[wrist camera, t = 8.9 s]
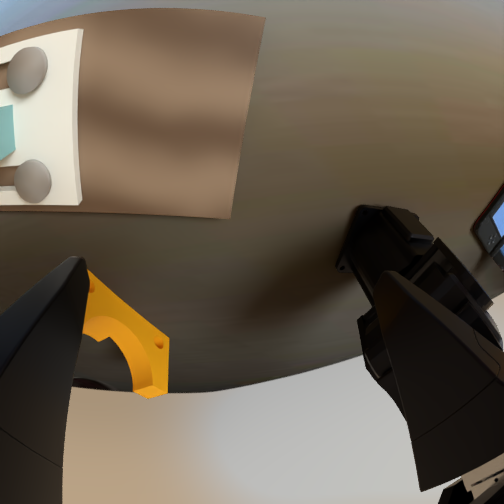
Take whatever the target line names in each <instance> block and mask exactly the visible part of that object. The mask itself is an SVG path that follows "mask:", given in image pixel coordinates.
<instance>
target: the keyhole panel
mask: <svg viewBox="0 0 504 504" xmlns="http://www.w3.org/2000/svg"><path fill="white" fill-rule="evenodd" d="M83 30H84V29H72V30H67V31H61V32H57V33H52V34H47V35H43V36H39V37H35V38H31V39H27V40H24V41H20V42H17V43H14V44H11V45H7V46H4V47H1V48H0V64H4V63H7V62H10V61H11V59H12V58H13V56H14V55H15V54H16V53H17V52H18V51H20V50H21V49H23V48H26V47H39V48H41V49H42V50H43V51H44V52H45V54H46V56H47V60H48V68H47V73H46V76H45V78H44V80H43V81H42V83H41V84H40V85H39V86H38V87H37V88H36V89H35V90H33V91H31V92H28V93H25V94H16V93H14V92H13V91H12V90H11V89H10V88H6V89H2V90H0V167H6V166H18V165H21V164H22V163H24V162H25V161H27V160H29V159H35V160H38V161H40V162H42V163H43V164H44V165H45V166H46V167H47V169H48V170H49V172H50V175H51V180H52V185H51V190H50V192H49V194H48V195H47V196H46V197H45V198H44V199H43V200H42V201H41V202H39V203H29V202H26V201H25V200H23V199H22V198H21V197H20V196H19V194H18V193H17V191H16V188H15V186H0V205H79V204H80V202H81V201H82V192H81V182H80V170H79V155H78V124H77V110H78V80H79V66H80V55H81V45H82V37H83Z"/></svg>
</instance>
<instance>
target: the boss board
mask: <svg viewBox="0 0 504 504" xmlns="http://www.w3.org/2000/svg"><path fill="white" fill-rule="evenodd" d="M265 19H266V18H264V17H259V16H253V15H246V14H240V13H232V12H224V11H214V10H202V9H182V8H147V9H128V10H116V11H106V12H98V13H91V14H84V15H78V16H73V17H68V18H63V19H58V20H54V21H49V22H45V23H41V24H38V25H34V26H30V27H27V28H24V29H20V30H17V31H14V32H11V33H8V34H5V35H3V36H0V48H1V47H4V46H7V45H11V44H14V43H17V42H20V41H24V40H27V39H31V38H35V37H39V36H43V35H47V34H52V33H57V32H61V31H67V30H72V29H84V30H83V37H82V45H81V55H80V66H79V80H78V110H77V124H78V155H79V170H80V182H81V192H82V201H81V202H80V204H79V205H0V211H66V212H103V213H130V214H152V215H172V216H190V217H206V218H222V219H230V216H231V209H232V203H233V196H234V190H235V184H236V178H237V171H238V165H239V159H240V153H241V147H242V141H243V136H244V130H245V124H246V118H247V113H248V107H249V102H250V96H251V91H252V85H253V80H254V75H255V69H256V64H257V59H258V54H259V49H260V44H261V39H262V34H263V29H264V24H265ZM47 68H48V60H47V56H46V54H45V52H44V51H43V50H42V49H41V48H39V47H26V48H23V49H21V50H20V51H18V52H17V53H16V54H15V55H14V56H13V58H12V59H11V61H10V62H7V63H4V64H0V90H2V89H6V88H10V89H11V90H12V91H13V92H14V93H16V94H25V93H28V92H31V91H33V90H35V89H36V88H37V87H38V86H39V85H40V84H41V83H42V81H43V80H44V78H45V76H46V73H47ZM51 185H52V180H51V175H50V172H49V170H48V169H47V167H46V166H45V165H44V164H43V163H42V162H40V161H38V160H35V159H29V160H27V161H25V162H24V163H22V164H21V165H18V166H6V167H0V186H15V188H16V191H17V193H18V194H19V196H20V197H21V198H22V199H23V200H25V201H26V202H29V203H39V202H41V201H42V200H43V199H44V198H45V197H46V196H47V195H48V194H49V192H50V190H51Z"/></svg>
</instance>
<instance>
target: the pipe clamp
mask: <svg viewBox="0 0 504 504" xmlns="http://www.w3.org/2000/svg"><path fill="white" fill-rule="evenodd" d="M87 271H88V275H89V280H90V289H89V294H88V300H87V306H86V313H85V319H84V326H83V333H84V334H87V335H89V336H91V337H92V338H94V339H95V340H97V341H98V342H99V341H101V340H103V339H105V338H107V337H111V338H112V339H113V340H114V341H115V343H116V344H117V345H118V346H119V348H120V349H121V351H122V352H123V354H124V356H125V358H126V360H127V362H128V364H129V367H130V370H131V374H132V380H133V392H135V393H138V394H139V395H141V396H143V397H145V398H147V399H149V398H152V397H156V396H160V395H163V394H167V393H168V359H169V337H167V336H166V335H165V334H163V333H162V332H161V331H159V330H158V329H157V328H156V327H154V326H153V325H152V324H150V323H149V322H148V321H147V320H145V319H144V318H143V317H142V316H140V315H139V314H138V313H137V312H136V311H134V310H133V309H132V308H131V307H130V306H128V305H127V304H126V303H125V302H124V301H122V300H121V299H120V298H119V297H118V296H117V295H116V294H114V293H113V292H112V291H111V290H110V289H109V288H108V287H106V286H105V285H104V284H103V283H102V282H101V281H100V280H99V279H98V278H96V277H95V276H94V275H93V274H92V273H91V272H90V271H89V270H88V269H87Z"/></svg>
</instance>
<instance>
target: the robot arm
mask: <svg viewBox="0 0 504 504" xmlns="http://www.w3.org/2000/svg"><path fill="white" fill-rule="evenodd" d="M364 210H366V211H365V212H364V213H362V212H363V211H364ZM433 241H434V237H433V235H432V234H431V233H430V232H429V231H428V230H427V229H426V228H425V227H424V226H423V225H422V224H421V223H420V222H419V217H418V216H417V215H416V214H415V213H410V212H409V211H408V210H406V209H401V208H395V207H389V206H385V207H383V208H382V207H376V206H369V205H362V206H360V207H359V208H358V210H357V213H356V215H355V218H354V221H353V223H352V226H351V228H350V231H349V234H348V236H347V239H346V241H345V244H344V246H343V249H342V251H341V253H340V256H339V258H338V261H337V263H336V266H335V267H336V269H337V271H338V272H342V273H354V275H355V277H356V278H357V280H358V282H359V284H360V286H361V287H362V289H363V291H364V293H365V295H366V296H367V298H368V300H369V302H370V304H371V306H372V308H371V309H370V310H369V311H368V312H367V313H366V314H365V315H362V316H361V317H360V318H359V319H357V323H358V329H359V334H360V339H361V345H362V351H363V357H364V361H365V366H366V369H367V370H368V371H369V373H370V374H371V376H372V377H373V378H374V380H376V382H377V383H378V384H379V385H380V386H381V387H382V388H383V389H384V390H385V391H386V392H387V393H388V394H389V395H390V397H391V398H392V399H393V400H394V402H395V403H396V405H397V406H398V408H399V410H400V411H401V413H402V415H403V417H404V418H405V420H406V421H407V425H408V429H409V433H410V438H411V441H412V442H411V443H412V449H413V454H414V459H415V464H416V470H417V475H418V481H419V488H420V491H421V492H423V491H426V490H428V489H431V488H433V487H436V486H439V485H441V484H443V483H446V482H448V481H451V480H453V479H455V478H457V477H459V476H461V478H460V479H459V480H457V481H456V482H454V483H453V484H451V485H449V486H448V487H447V488H445V489H443V492H442V494H441V497H440V500H439V502H438V504H504V352H503V342H502V338H501V335H500V333H499V330H498V328H497V325H496V324H495V322H494V320H493V319H492V317H491V316H490V315H489V313H488V312H487V310H488V309H489V308H490V307H491V306H492V305H493V302H492V300H491V299H490V298H489V296H488V295H487V294H486V292H485V291H484V290H483V288H482V287H481V286H480V284H479V283H478V282H477V280H476V279H475V278H474V277H473V276H472V274H471V273H470V272H469V271H468V269H467V268H466V267H465V266H464V265H463V264H462V262H461V261H460V260H459V259H458V258H457V257H456V256H455V255H454V253H453V252H452V251H451V250H450V249H449V248H448V247H447V246H446V245H445V244H444V243H443V242H442V241H441V239H440V238H439V237H437V239H436V240H435V241H434V242H433ZM433 243H434V244H433ZM341 266H342V267H341ZM89 289H90V280H89V275H88V271H87V266H86V262H85V259H84V258H83V257H75V256H71V257H69V258H68V259H66V260H65V261H64V262H62V263H61V264H60V265H59V266H57V267H56V268H55V269H54V270H52V271H51V272H50V273H49V274H47V275H46V276H45V277H44V278H42V279H41V280H40V281H39V282H38V283H36V284H35V285H34V286H33V287H32V288H31V289H29V290H28V291H27V292H26V293H25V294H24V295H22V296H21V297H20V298H19V299H18V300H17V301H16V302H15V303H13V304H12V305H11V306H10V307H9V308H8V309H7V310H6V311H5V312H4V313H2V314H1V315H0V504H62V477H63V476H62V475H63V468H62V467H63V453H64V452H63V451H64V441H65V430H66V422H67V414H68V406H69V400H70V393H71V387H72V382H73V376H74V371H75V366H76V361H77V356H78V352H79V347H80V343H81V338H82V333H83V326H84V319H85V313H86V306H87V300H88V294H89Z"/></svg>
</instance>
